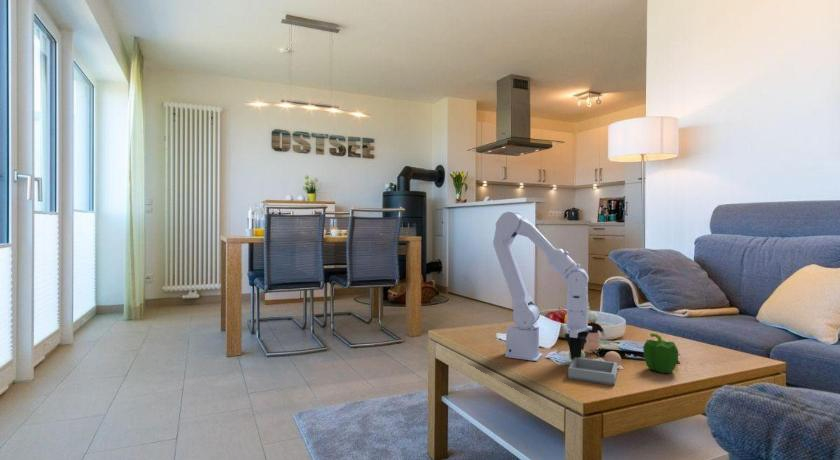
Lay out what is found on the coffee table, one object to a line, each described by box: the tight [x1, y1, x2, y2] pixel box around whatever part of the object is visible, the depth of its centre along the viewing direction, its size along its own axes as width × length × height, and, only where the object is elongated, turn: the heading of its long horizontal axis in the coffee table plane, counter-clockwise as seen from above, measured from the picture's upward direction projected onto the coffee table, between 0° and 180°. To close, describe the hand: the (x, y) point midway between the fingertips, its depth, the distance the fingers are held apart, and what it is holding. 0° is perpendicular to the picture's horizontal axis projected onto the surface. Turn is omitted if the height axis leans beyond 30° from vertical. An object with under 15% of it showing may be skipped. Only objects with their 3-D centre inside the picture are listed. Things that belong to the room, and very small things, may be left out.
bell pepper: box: [642, 332, 679, 374], centre depth 124 cm, size 8×8×10 cm
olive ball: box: [568, 349, 586, 362], centre depth 131 cm, size 4×4×4 cm
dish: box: [567, 357, 618, 386], centre depth 119 cm, size 11×11×3 cm
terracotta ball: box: [603, 350, 622, 368], centre depth 127 cm, size 4×4×4 cm
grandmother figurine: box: [585, 311, 607, 354], centre depth 143 cm, size 8×4×13 cm, turn 84°
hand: (576, 357), depth 131 cm, fingers closed on olive ball, 4 cm apart
